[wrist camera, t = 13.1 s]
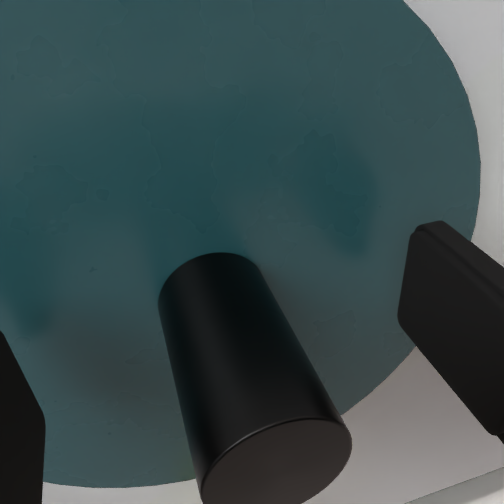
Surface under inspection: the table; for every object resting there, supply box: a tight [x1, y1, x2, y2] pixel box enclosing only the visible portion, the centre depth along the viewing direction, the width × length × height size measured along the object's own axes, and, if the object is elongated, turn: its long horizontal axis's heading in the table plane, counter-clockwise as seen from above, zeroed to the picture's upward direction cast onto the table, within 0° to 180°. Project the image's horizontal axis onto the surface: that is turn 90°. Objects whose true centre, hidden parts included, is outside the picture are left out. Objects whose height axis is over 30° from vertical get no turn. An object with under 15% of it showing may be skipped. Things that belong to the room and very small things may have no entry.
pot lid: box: [0, 0, 481, 504], centre depth 11 cm, size 16×16×6 cm
